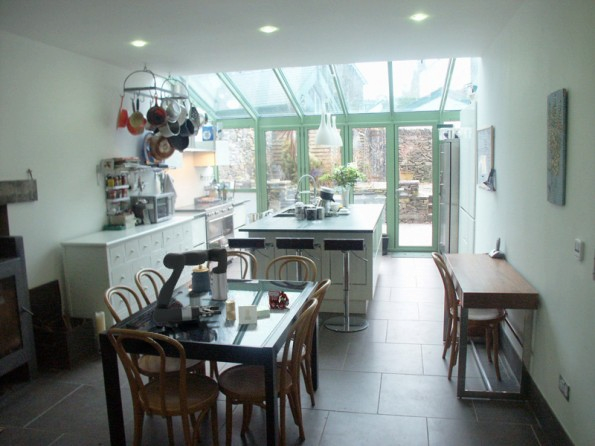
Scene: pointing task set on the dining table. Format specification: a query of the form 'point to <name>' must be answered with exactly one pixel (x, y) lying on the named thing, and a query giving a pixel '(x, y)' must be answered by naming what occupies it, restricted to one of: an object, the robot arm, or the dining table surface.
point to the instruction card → (247, 314)
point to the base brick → (263, 311)
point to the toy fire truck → (275, 297)
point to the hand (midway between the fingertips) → (219, 309)
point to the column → (230, 310)
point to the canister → (201, 279)
